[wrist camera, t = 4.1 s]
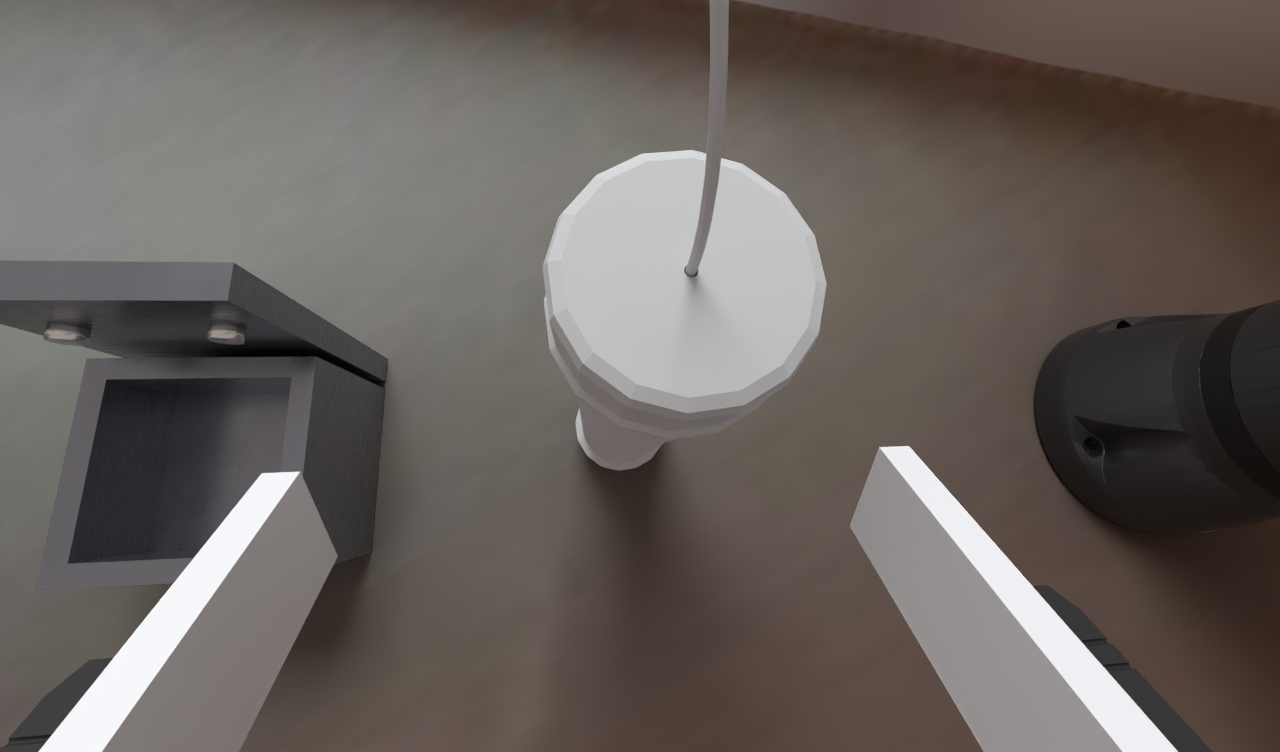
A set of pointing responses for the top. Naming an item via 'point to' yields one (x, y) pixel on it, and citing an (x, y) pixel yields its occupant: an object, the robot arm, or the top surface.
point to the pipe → (679, 292)
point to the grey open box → (193, 411)
